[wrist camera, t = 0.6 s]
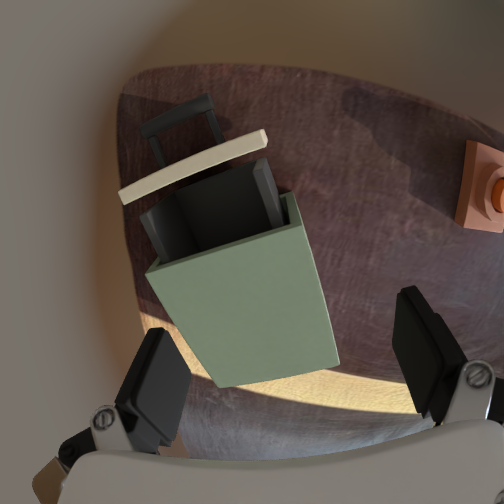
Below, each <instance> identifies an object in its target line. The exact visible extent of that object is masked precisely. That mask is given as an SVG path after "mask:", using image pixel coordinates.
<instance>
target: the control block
mask: <svg viewBox="0 0 504 504" xmlns="http://www.w3.org/2000/svg"><path fill="white" fill-rule="evenodd" d="M500 179H503V180H504V152H502V151H499V150H497V149H494V148H492V147H490V146H487V145H484V144H482V143H479V142H476V141H471V140H466V151H465V160H464V168H463V175H462V182H461V188H460V194H459V199H458V204H457V209H456V214H455V218H454V221H455V222H456V223H458V224H459V225H461V226H462V227H463V228H471V229H478V230H485V231H492V232H499V233H502V231H503V227H504V213H502V212H500V211H499V210H497V209H495V208H494V206H493V204H492V201H491V195H492V189H493V186H494V185H495V183H496V182H497V181H498V180H500Z"/></svg>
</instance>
